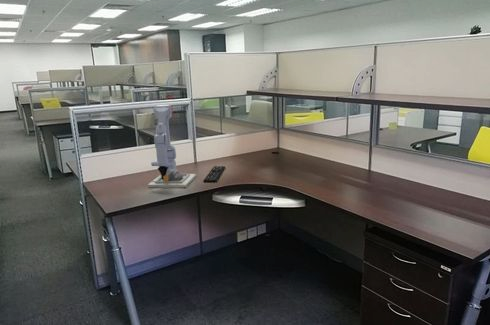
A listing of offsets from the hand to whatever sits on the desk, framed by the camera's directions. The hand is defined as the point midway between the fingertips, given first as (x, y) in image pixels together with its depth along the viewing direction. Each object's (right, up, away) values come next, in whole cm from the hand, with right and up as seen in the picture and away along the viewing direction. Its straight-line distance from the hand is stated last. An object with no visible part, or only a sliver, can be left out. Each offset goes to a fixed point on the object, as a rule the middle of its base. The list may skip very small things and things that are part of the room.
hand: (164, 179), depth 203 cm
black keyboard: (+27, +1, +20) cm, 34 cm away
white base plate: (+3, -2, +8) cm, 9 cm away
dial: (+3, -1, +6) cm, 6 cm away
